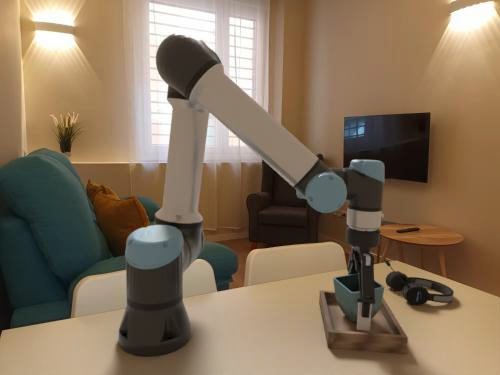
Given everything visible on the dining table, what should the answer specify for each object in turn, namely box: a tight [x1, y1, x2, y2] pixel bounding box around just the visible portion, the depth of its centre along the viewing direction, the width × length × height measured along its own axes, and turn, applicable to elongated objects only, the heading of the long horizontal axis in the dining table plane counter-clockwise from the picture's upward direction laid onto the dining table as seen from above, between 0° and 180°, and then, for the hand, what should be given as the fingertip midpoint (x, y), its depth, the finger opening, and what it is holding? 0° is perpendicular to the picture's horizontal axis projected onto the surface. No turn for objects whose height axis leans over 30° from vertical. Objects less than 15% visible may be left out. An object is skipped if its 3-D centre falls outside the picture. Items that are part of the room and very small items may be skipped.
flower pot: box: [332, 273, 385, 323], centre depth 89 cm, size 9×9×9 cm
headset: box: [384, 260, 454, 306], centre depth 106 cm, size 14×10×20 cm
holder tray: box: [318, 289, 409, 355], centre depth 88 cm, size 16×22×4 cm
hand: (357, 315), depth 88 cm, fingers open, 13 cm apart
